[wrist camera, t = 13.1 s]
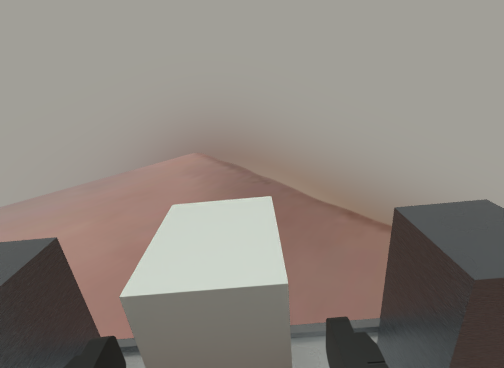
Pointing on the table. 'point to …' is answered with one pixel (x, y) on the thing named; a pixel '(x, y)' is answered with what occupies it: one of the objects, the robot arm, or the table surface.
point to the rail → (306, 335)
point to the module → (212, 289)
